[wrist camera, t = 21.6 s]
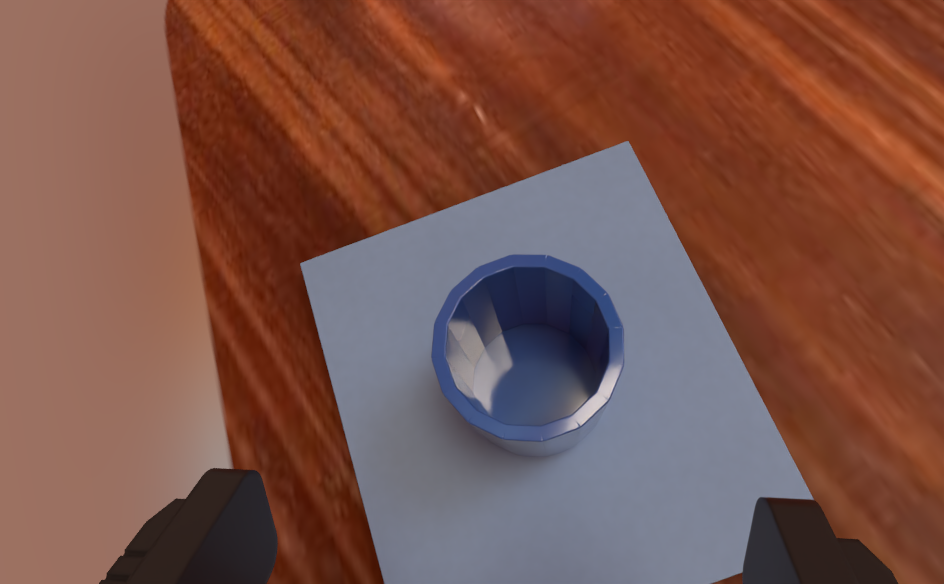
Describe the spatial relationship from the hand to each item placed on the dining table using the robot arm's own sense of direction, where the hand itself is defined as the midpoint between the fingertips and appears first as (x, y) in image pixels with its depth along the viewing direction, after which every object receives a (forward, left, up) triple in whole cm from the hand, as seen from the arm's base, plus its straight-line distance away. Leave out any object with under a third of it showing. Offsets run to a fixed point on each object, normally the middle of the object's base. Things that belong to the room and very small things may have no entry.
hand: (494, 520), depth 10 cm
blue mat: (+2, +5, -18) cm, 19 cm away
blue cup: (+2, +5, -17) cm, 18 cm away
